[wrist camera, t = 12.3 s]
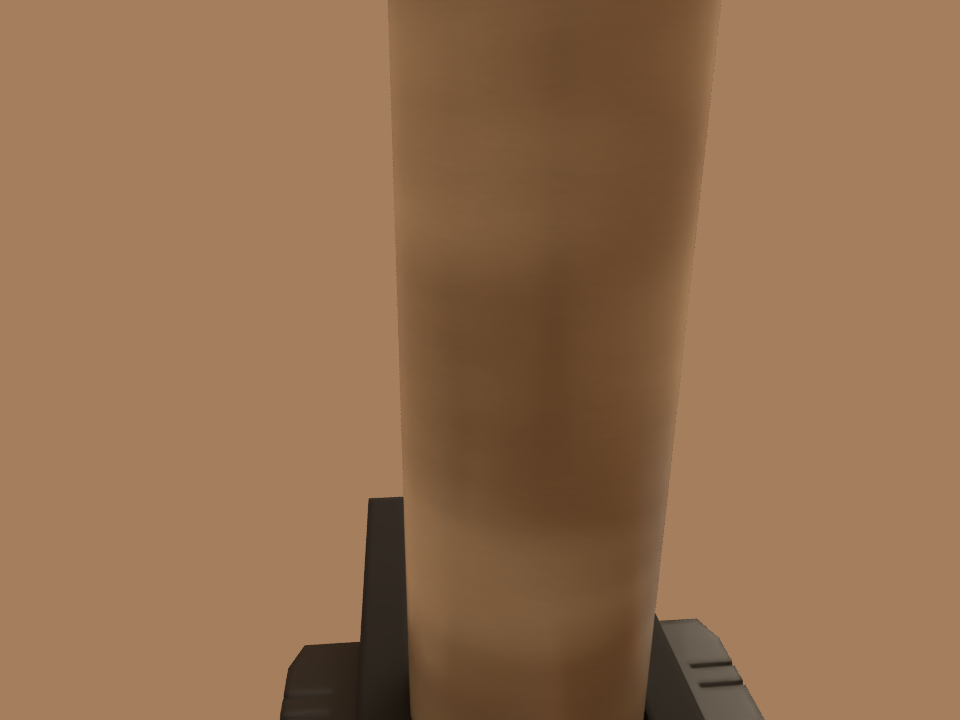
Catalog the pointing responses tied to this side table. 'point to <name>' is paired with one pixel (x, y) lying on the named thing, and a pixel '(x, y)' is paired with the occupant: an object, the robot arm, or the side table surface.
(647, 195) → the paper towel holder
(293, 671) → the robot arm
